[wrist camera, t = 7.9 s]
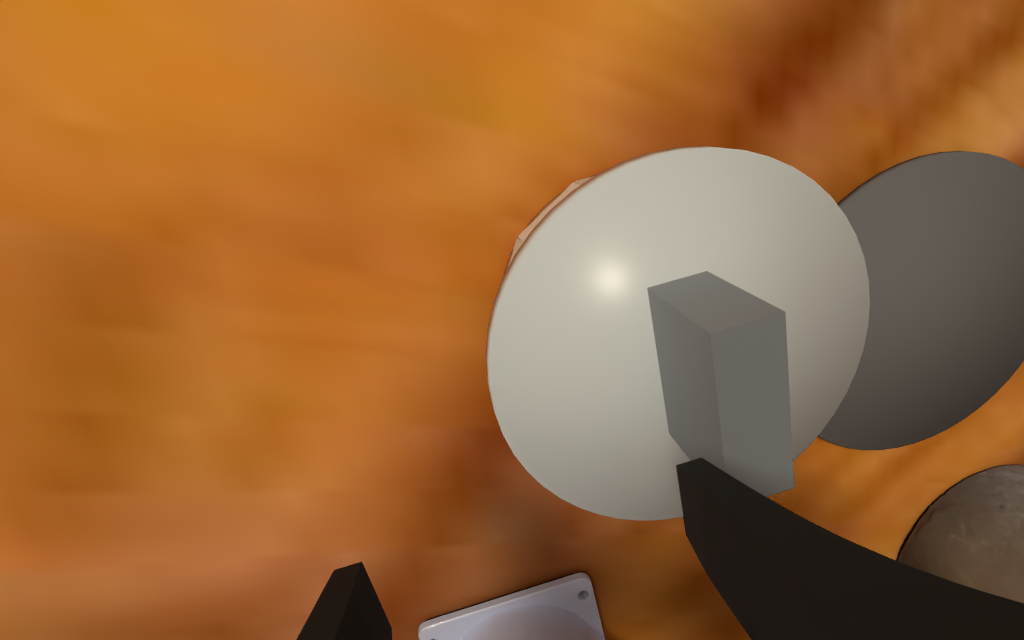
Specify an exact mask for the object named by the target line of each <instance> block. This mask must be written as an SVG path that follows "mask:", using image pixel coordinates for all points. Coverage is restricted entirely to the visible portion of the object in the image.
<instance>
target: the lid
mask: <svg viewBox="0 0 1024 640" xmlns="http://www.w3.org/2000/svg"><path fill="white" fill-rule="evenodd" d="M869 309H870V295H869V279H868V274H867V269H866V264H865V259H864V255H863V252H862V249H861V247H860V244H859V241H858V238H857V235H856V234H855V232H854V230H853V228H852V226H851V224H850V223H849V221H848V219H847V217H846V215H845V214H844V213H843V211H842V210H841V209H840V207H839V206H838V205H837V203H836V202H835V201H834V200H833V198H832V197H831V196H830V195H829V194H828V193H827V192H826V191H825V190H824V189H822V188H821V187H820V186H819V185H818V184H817V183H816V182H815V181H814V180H812V179H811V178H809V177H808V176H806V175H805V174H803V173H802V172H800V171H799V170H797V169H795V168H794V167H792V166H790V165H788V164H785V163H783V162H781V161H778V160H776V159H774V158H772V157H769V156H765V155H761V154H757V153H753V152H749V151H746V150H737V149H727V148H717V147H705V146H699V147H679V148H672V149H667V150H661V151H656V152H651V153H647V154H644V155H641V156H638V157H636V158H633V159H630V160H627V161H624V162H621V163H619V164H617V165H615V166H613V167H611V168H609V169H607V170H605V171H603V172H601V173H599V174H597V175H595V176H594V177H592V178H591V179H589V180H588V181H586V182H585V183H583V184H582V185H580V186H579V187H577V188H576V189H574V190H573V191H572V192H570V193H569V194H568V195H567V196H566V197H565V198H563V199H562V200H561V201H560V202H559V203H558V204H557V205H555V206H554V207H553V208H552V209H551V210H550V211H549V212H548V213H547V214H546V215H545V216H544V217H543V219H542V220H541V221H540V222H539V223H538V224H537V225H536V226H535V227H534V229H533V230H532V231H531V232H530V234H529V235H528V236H527V238H526V239H525V241H524V242H523V244H522V245H521V246H520V248H519V249H518V251H517V252H516V254H515V255H514V257H513V259H512V261H511V263H510V265H509V267H508V269H507V271H506V273H505V275H504V276H503V278H502V281H501V284H500V286H499V289H498V292H497V295H496V297H495V300H494V303H493V306H492V311H491V315H490V320H489V324H488V329H487V341H486V353H485V355H486V371H487V381H488V385H489V390H490V395H491V400H492V404H493V407H494V411H495V414H496V417H497V420H498V423H499V425H500V428H501V431H502V433H503V436H504V437H505V439H506V441H507V443H508V445H509V446H510V448H511V450H512V452H513V454H514V455H515V456H516V457H517V459H518V460H519V461H520V463H521V464H522V465H523V467H524V468H525V469H526V470H527V471H528V472H529V473H530V474H531V475H532V476H533V477H534V478H535V479H536V480H537V481H538V482H539V483H540V484H541V485H542V486H544V487H545V488H546V489H548V490H549V491H551V492H552V493H554V494H555V495H556V496H558V497H559V498H561V499H563V500H565V501H567V502H569V503H571V504H573V505H575V506H577V507H579V508H582V509H584V510H587V511H590V512H593V513H596V514H599V515H604V516H609V517H614V518H618V519H629V520H665V519H671V518H678V517H683V510H682V504H681V497H680V490H679V484H678V477H677V470H676V465H678V464H682V463H685V462H688V461H691V460H695V459H698V458H703V459H705V460H706V461H708V462H710V463H711V464H713V465H715V466H716V467H718V468H719V469H721V470H723V471H724V472H726V473H727V474H729V475H731V476H732V477H734V478H735V479H737V480H739V481H740V482H742V483H744V484H745V485H747V486H749V487H750V488H752V489H753V490H755V491H757V492H758V493H760V494H762V495H763V496H765V497H767V496H770V495H773V494H777V493H780V492H783V491H786V490H789V489H792V488H794V471H793V461H794V460H795V459H796V458H797V457H798V456H799V455H800V454H801V453H802V452H804V451H805V449H806V448H807V447H808V446H809V445H810V444H811V443H812V442H813V441H814V439H815V438H816V437H817V436H818V435H819V434H820V433H821V431H822V430H823V429H824V427H825V426H826V425H827V423H828V422H829V420H830V419H831V418H832V416H833V415H834V414H835V412H836V410H837V408H838V407H839V405H840V403H841V402H842V400H843V398H844V396H845V395H846V393H847V391H848V389H849V386H850V384H851V382H852V380H853V378H854V375H855V373H856V371H857V368H858V365H859V362H860V358H861V355H862V352H863V349H864V344H865V339H866V334H867V329H868V322H869Z"/></svg>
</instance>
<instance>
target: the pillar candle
mask: <svg viewBox="0 0 1024 640" xmlns="http://www.w3.org/2000/svg"><path fill="white" fill-rule="evenodd" d="M898 562H901V563H903V564H906V565H908V566H911V567H913V568H916V569H919V570H922V571H925V572H927V573H930V574H933V575H936V576H939V577H941V578H944V579H947V580H950V581H953V582H955V583H959V584H962V585H965V586H968V587H971V588H974V589H977V590H980V591H983V592H987V593H990V594H993V595H997V596H1000V597H1004V598H1007V599H1010V600H1014V601H1017V602H1021V603H1024V466H1023V465H1004V466H998V467H994V468H989V469H987V470H984V471H983V472H980V473H977V474H974V475H972V476H970V477H968V478H965V479H964V480H963V481H961V482H960V483H958V484H957V485H955V486H954V487H952V488H950V489H949V490H948V491H947V492H946V493H945V494H944V495H942V496H941V497H940V498H939V499H938V500H936V501H935V502H934V504H933V505H931V506H930V507H929V508H928V510H927V511H926V512H925V514H924V515H923V516H922V517H921V519H920V520H919V522H918V523H917V525H916V527H915V528H914V530H913V532H912V533H911V535H910V536H909V538H908V540H907V542H906V543H905V545H904V547H903V548H902V550H901V552H900V556H899V559H898Z"/></svg>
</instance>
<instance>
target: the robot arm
mask: <svg viewBox="0 0 1024 640" xmlns="http://www.w3.org/2000/svg"><path fill="white" fill-rule="evenodd" d="M676 470H677V477H678V484H679V490H680V497H681V504H682V510H683V517H684V524H685V531H686V535H687V537H688V539H689V541H690V543H691V545H692V547H693V549H694V551H695V553H696V555H697V556H698V558H699V560H700V562H701V564H702V566H703V567H704V569H705V571H706V573H707V575H708V577H709V578H710V580H711V581H712V583H713V584H714V586H715V587H716V588H717V590H718V591H719V593H720V594H721V596H722V597H723V599H724V600H725V602H726V603H727V605H728V606H729V607H730V609H731V610H732V612H733V613H734V615H735V616H736V618H737V619H738V620H739V622H740V623H741V625H742V626H743V628H744V629H745V631H746V632H747V633H748V635H749V636H750V638H751V639H752V640H1024V603H1021V602H1017V601H1014V600H1010V599H1007V598H1004V597H1000V596H997V595H993V594H990V593H987V592H983V591H980V590H977V589H974V588H971V587H968V586H965V585H962V584H959V583H955V582H953V581H950V580H947V579H944V578H941V577H939V576H936V575H933V574H930V573H927V572H925V571H922V570H919V569H916V568H913V567H911V566H908V565H906V564H903V563H901V562H898V561H895V560H893V559H890V558H888V557H886V556H883V555H881V554H879V553H876V552H874V551H872V550H869V549H867V548H865V547H862V546H860V545H858V544H855V543H853V542H851V541H849V540H847V539H844V538H842V537H840V536H838V535H836V534H834V533H832V532H830V531H828V530H826V529H824V528H822V527H820V526H818V525H816V524H814V523H812V522H810V521H808V520H806V519H804V518H802V517H801V516H799V515H797V514H795V513H793V512H791V511H790V510H788V509H786V508H784V507H783V506H781V505H779V504H777V503H776V502H774V501H772V500H770V499H769V498H767V497H765V496H763V495H762V494H760V493H758V492H757V491H755V490H753V489H752V488H750V487H749V486H747V485H745V484H744V483H742V482H740V481H739V480H737V479H735V478H734V477H732V476H731V475H729V474H727V473H726V472H724V471H723V470H721V469H719V468H718V467H716V466H715V465H713V464H711V463H710V462H708V461H706V460H705V459H703V458H698V459H695V460H691V461H688V462H685V463H682V464H678V465H676ZM581 591H584V592H582V593H579V592H581ZM419 639H420V640H431V639H435V640H605V637H604V632H603V628H602V624H601V620H600V616H599V612H598V608H597V604H596V600H595V595H594V591H593V587H592V583H591V580H590V578H589V576H588V575H587V574H586V573H576V574H573V575H570V576H566V577H563V578H560V579H557V580H554V581H551V582H548V583H544V584H541V585H538V586H535V587H532V588H529V589H525V590H522V591H519V592H516V593H513V594H510V595H507V596H503V597H500V598H497V599H494V600H491V601H488V602H484V603H481V604H478V605H475V606H472V607H469V608H465V609H462V610H459V611H456V612H453V613H450V614H447V615H443V616H440V617H437V618H434V619H431V620H428V621H425V622H423V623H422V624H421V625H420V627H419ZM296 640H392V628H391V626H390V623H389V621H388V619H387V617H386V615H385V612H384V610H383V608H382V606H381V603H380V601H379V599H378V597H377V594H376V592H375V590H374V588H373V585H372V583H371V581H370V579H369V576H368V574H367V572H366V570H365V568H364V565H363V563H362V562H359V563H356V564H353V565H349V566H346V567H343V568H340V569H336V570H334V572H333V573H332V575H331V577H330V578H329V580H328V582H327V584H326V586H325V588H324V589H323V591H322V593H321V595H320V597H319V599H318V601H317V603H316V604H315V606H314V608H313V610H312V612H311V614H310V616H309V618H308V619H307V621H306V623H305V625H304V627H303V629H302V630H301V632H300V634H299V636H298V638H297V639H296Z"/></svg>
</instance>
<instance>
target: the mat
mask: <svg viewBox="0 0 1024 640" xmlns="http://www.w3.org/2000/svg"><path fill="white" fill-rule="evenodd" d="M837 205H838V206H839V207H840V209H841V210H842V211H843V213H844V214H845V215H846V217H847V219H848V221H849V223H850V224H851V226H852V228H853V230H854V232H855V234H856V235H857V238H858V241H859V244H860V247H861V249H862V252H863V255H864V259H865V264H866V269H867V274H868V279H869V295H870V309H869V322H868V329H867V334H866V339H865V344H864V349H863V352H862V355H861V358H860V362H859V365H858V368H857V371H856V373H855V375H854V378H853V380H852V382H851V384H850V386H849V389H848V391H847V393H846V395H845V396H844V398H843V400H842V402H841V403H840V405H839V407H838V408H837V410H836V412H835V414H834V415H833V416H832V418H831V419H830V420H829V422H828V423H827V425H826V426H825V427H824V429H823V430H822V431H821V433H820V434H819V435H818V436H819V437H820V438H822V439H825V440H827V441H829V442H831V443H833V444H836V445H840V446H843V447H847V448H852V449H860V450H884V449H891V448H898V447H902V446H906V445H910V444H914V443H916V442H919V441H922V440H925V439H927V438H930V437H932V436H934V435H936V434H938V433H940V432H943V431H945V430H947V429H948V428H950V427H952V426H953V425H955V424H957V423H958V422H960V421H962V420H963V419H965V418H966V417H967V416H969V415H970V414H972V413H973V412H974V411H976V410H977V409H978V408H980V407H981V406H982V405H983V404H984V403H985V402H987V401H988V400H989V399H990V398H991V397H992V396H993V395H994V394H995V393H996V392H997V391H998V390H999V389H1000V388H1001V387H1002V386H1003V385H1004V384H1005V383H1006V382H1007V381H1008V380H1009V379H1010V377H1011V376H1012V375H1013V374H1014V373H1015V371H1016V370H1017V369H1018V368H1019V366H1020V365H1021V364H1022V362H1023V361H1024V169H1023V168H1021V167H1020V166H1018V165H1016V164H1014V163H1012V162H1010V161H1008V160H1006V159H1004V158H1001V157H997V156H994V155H990V154H985V153H976V152H964V151H954V152H938V153H934V154H929V155H924V156H919V157H916V158H913V159H910V160H908V161H905V162H902V163H899V164H897V165H895V166H893V167H891V168H889V169H887V170H885V171H883V172H881V173H879V174H877V175H875V176H874V177H872V178H871V179H869V180H868V181H866V182H865V183H863V184H861V185H860V186H858V187H857V188H856V189H855V190H853V191H852V192H851V193H850V194H849V195H847V196H846V197H845V198H844V199H842V200H841V201H840V202H839V203H838V204H837Z"/></svg>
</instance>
